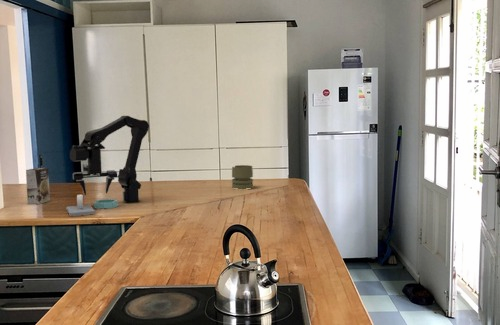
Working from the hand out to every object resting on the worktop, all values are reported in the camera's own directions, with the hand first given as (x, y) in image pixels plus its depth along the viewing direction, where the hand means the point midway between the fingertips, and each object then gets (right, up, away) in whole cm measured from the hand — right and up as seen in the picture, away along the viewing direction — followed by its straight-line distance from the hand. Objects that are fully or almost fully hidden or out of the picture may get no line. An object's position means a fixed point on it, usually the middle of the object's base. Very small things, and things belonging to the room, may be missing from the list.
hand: (95, 194), depth 234 cm
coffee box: (-31, -5, +14) cm, 34 cm away
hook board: (-4, -7, -10) cm, 13 cm away
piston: (+65, 0, +51) cm, 83 cm away
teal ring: (+4, -6, +2) cm, 7 cm away
